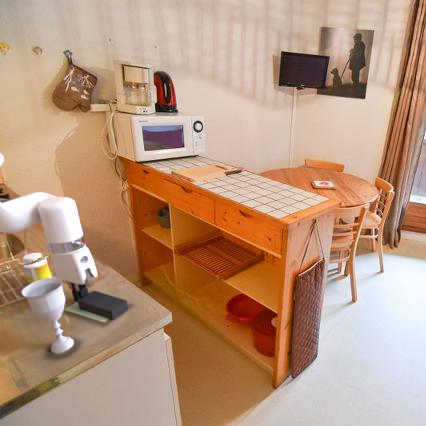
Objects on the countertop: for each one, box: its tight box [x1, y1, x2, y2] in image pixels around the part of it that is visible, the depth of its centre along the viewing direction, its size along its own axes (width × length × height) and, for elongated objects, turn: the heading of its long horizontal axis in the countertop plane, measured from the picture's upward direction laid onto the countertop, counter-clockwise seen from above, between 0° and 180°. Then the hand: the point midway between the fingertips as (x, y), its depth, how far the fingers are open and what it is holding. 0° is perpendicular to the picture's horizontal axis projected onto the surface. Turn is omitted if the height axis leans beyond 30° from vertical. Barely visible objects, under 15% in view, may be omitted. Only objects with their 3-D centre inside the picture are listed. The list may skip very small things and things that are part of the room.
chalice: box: [21, 276, 75, 354], centre depth 74 cm, size 7×7×18 cm
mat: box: [64, 302, 110, 323], centre depth 90 cm, size 14×8×1 cm, turn 73°
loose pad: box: [77, 290, 111, 314], centre depth 90 cm, size 6×5×3 cm
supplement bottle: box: [22, 252, 53, 285], centre depth 97 cm, size 6×6×10 cm
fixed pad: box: [94, 295, 129, 321], centre depth 88 cm, size 6×5×3 cm
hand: (82, 299), depth 91 cm, fingers closed
